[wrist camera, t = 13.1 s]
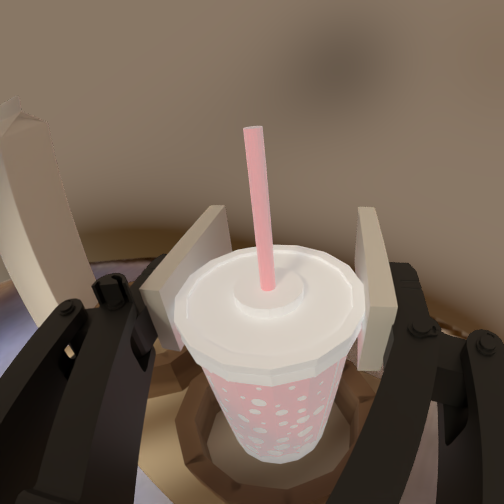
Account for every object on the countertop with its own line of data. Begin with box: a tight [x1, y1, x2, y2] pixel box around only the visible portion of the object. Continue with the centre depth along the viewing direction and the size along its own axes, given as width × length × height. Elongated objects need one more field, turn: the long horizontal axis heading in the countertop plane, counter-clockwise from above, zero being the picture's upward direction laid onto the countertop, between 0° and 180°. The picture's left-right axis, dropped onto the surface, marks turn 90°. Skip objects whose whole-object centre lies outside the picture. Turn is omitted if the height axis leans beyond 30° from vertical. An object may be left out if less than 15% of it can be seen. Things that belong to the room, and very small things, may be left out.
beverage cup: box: [174, 126, 365, 464], centre depth 11 cm, size 6×6×14 cm
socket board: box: [65, 281, 381, 504], centre depth 18 cm, size 24×14×4 cm, turn 48°
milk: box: [0, 95, 98, 328], centre depth 23 cm, size 6×6×22 cm
